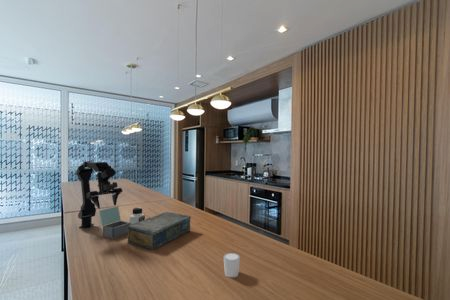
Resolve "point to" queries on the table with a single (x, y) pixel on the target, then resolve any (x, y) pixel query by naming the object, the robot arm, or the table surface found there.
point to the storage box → (116, 229)
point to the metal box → (158, 230)
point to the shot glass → (231, 264)
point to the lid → (109, 215)
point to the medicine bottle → (137, 216)
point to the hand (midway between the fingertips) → (107, 207)
